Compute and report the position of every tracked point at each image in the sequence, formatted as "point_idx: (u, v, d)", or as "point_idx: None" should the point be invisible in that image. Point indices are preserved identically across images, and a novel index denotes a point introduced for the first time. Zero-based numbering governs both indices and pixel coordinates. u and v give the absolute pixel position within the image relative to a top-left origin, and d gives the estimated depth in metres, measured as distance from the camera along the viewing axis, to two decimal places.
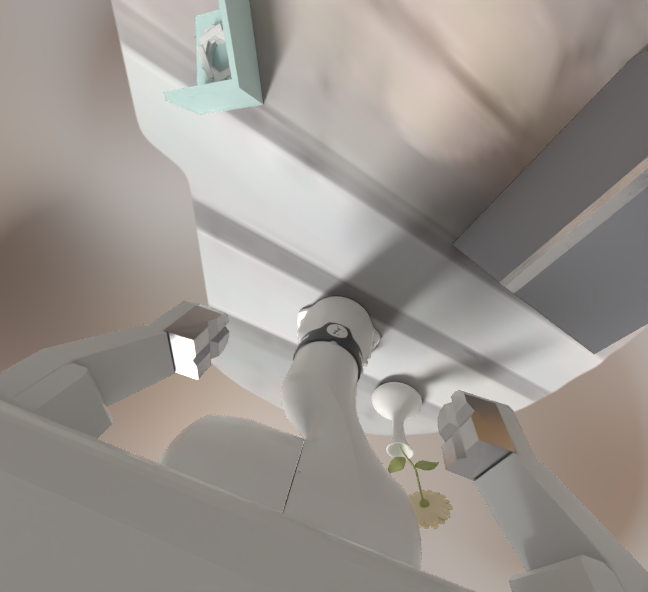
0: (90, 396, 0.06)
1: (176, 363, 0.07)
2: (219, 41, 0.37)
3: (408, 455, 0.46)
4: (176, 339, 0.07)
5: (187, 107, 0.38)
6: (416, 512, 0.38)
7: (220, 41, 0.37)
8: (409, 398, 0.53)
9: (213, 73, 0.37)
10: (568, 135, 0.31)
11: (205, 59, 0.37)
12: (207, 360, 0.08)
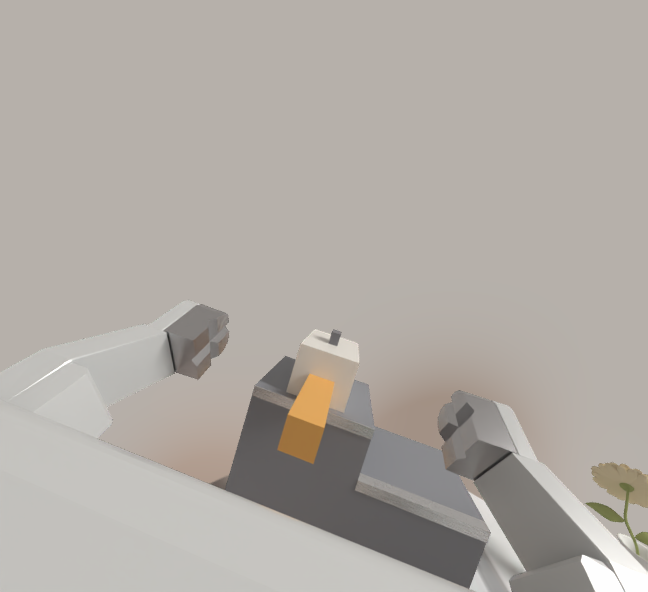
0: (90, 396, 0.06)
1: (176, 363, 0.07)
2: None
3: (625, 538, 0.39)
4: (176, 339, 0.07)
5: None
6: (643, 486, 0.39)
7: None
8: None
9: None
10: None
11: None
12: (207, 360, 0.08)
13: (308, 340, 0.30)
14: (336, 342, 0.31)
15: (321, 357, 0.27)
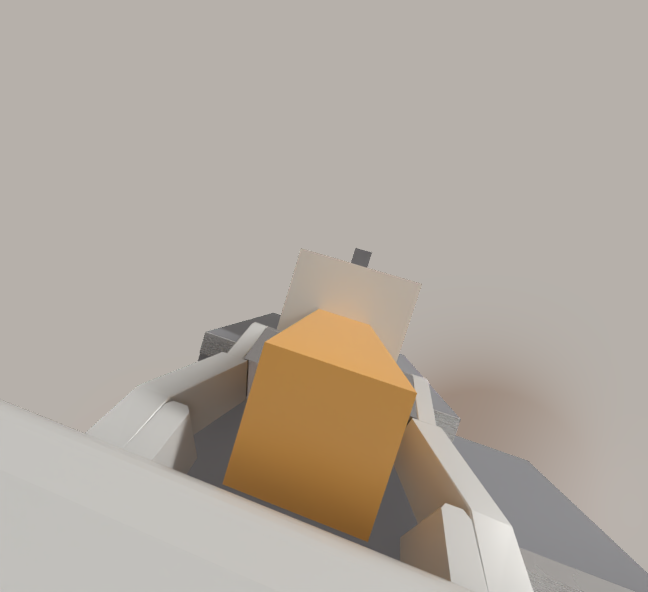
0: (188, 434, 0.05)
1: None
2: None
3: None
4: (256, 367, 0.07)
5: None
6: None
7: None
8: None
9: None
10: None
11: None
12: None
13: None
14: (363, 266, 0.17)
15: (343, 275, 0.13)
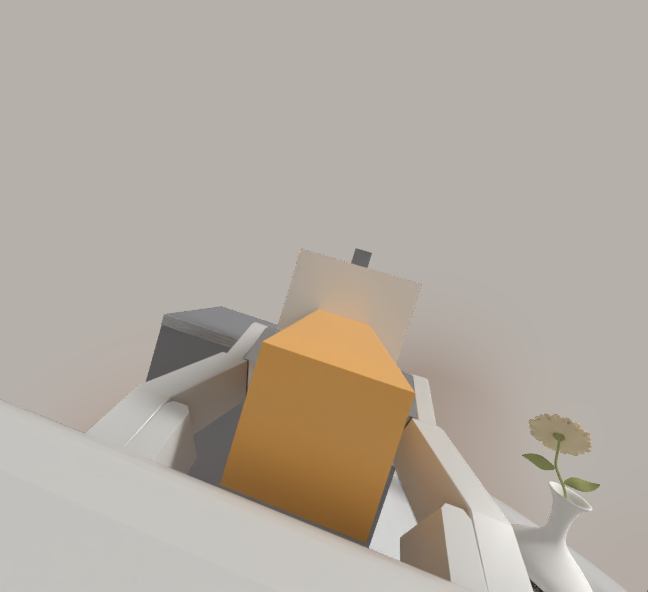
0: (188, 434, 0.05)
1: None
2: None
3: (556, 485, 0.40)
4: None
5: None
6: (572, 434, 0.40)
7: None
8: (521, 542, 0.39)
9: None
10: None
11: None
12: None
13: None
14: (363, 267, 0.17)
15: (343, 275, 0.13)
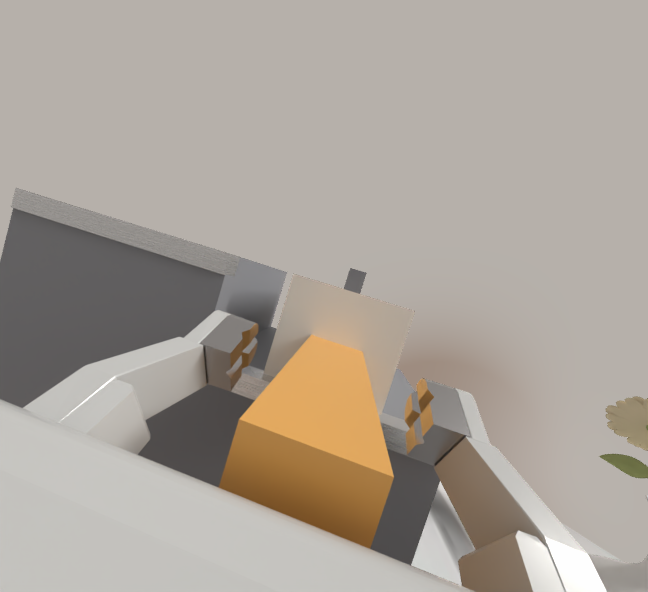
0: (134, 413, 0.05)
1: (209, 375, 0.07)
2: None
3: None
4: (212, 352, 0.07)
5: None
6: None
7: None
8: (609, 586, 0.26)
9: None
10: None
11: None
12: (239, 371, 0.08)
13: None
14: (358, 287, 0.17)
15: (336, 301, 0.13)
